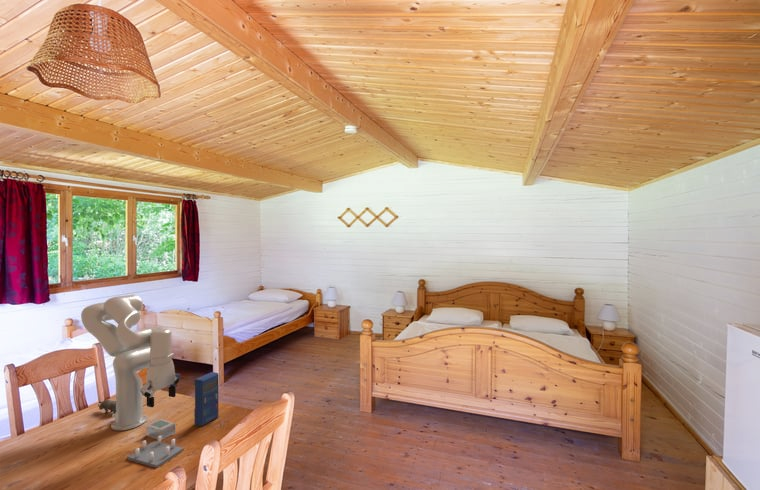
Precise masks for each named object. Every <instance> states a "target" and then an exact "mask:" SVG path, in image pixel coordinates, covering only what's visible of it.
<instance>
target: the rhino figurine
mask: <svg viewBox="0 0 760 490" xmlns="http://www.w3.org/2000/svg"><path fill="white" fill-rule="evenodd" d="M97 406H98V409H99V410H100V411H102V410H104V411H105V412H104V415H107V414H109V411H110V413H111V416H112V415H113V414H116V400H112V399H109V398H108V399H104V400H103V401H98V404H97ZM112 412H113V413H112Z"/></svg>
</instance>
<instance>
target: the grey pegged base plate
mask: <svg viewBox="0 0 760 490" xmlns="http://www.w3.org/2000/svg"><path fill="white" fill-rule="evenodd" d="M170 441H171V442H170V444H168V443H166V442H162V441H161V436H158V440H153V441H152V442H150V443H148V444H147V440H142V441H141V442H142V443H141V444H142V445H141V446H142V447H141V448H140V447H137V448H135V451H134V452H132V453H131V454H128V455H127V456H126V460H128V461H132V462H134V463H138V464H141V465H144V466H148V467H152V468H156V469H157V468H159V467H161V466H163V465H164V464H165V463H167V462H168V461H170V460H172V459H173V458H175V457H176V456H177V455H179V454H181V453H182V452H184V450H185V448H184V447H181V446H177V445H176V438H172V439H171V440H170Z"/></svg>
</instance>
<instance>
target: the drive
mask: <svg viewBox="0 0 760 490" xmlns="http://www.w3.org/2000/svg"><path fill="white" fill-rule="evenodd" d="M175 434H176V422H173V421H169V420H166V419H163V418H159V419H158V420H155V421H153V422H151V423H149V424H147V425H146V436H147V437H149V438H152V439H155V440H156V441H158V436H161V442H162V441H164V440H165V439H168V438H169V437H171V436H173V435H175Z"/></svg>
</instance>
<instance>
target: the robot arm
mask: <svg viewBox="0 0 760 490" xmlns="http://www.w3.org/2000/svg"><path fill="white" fill-rule="evenodd" d="M143 306H144V303H143V299H142V298H141V297H140V296H139V295H135V294H129V295H120V296H113V297H111V298H108V299H107V300H105V302H98V303H94V304H90V305H88V306H86V307H84V308H83V309H82V311H81V314H80V319H81V323H82V325H83V327H84V328H85V330H86V331H87V332H88V333H89V334H91V335H92V336H93V337H94V338H95V339H96V340H97V341H98V342H99V344H100V345H101V347H102V348H103V349H104V351H105V352H106V353H107V354H108V355H109V356H110V357H113V358H114V359H113V361H112V368H113V372H114V378H115V401H116V414H113V413H112V414H113V415H112V414H111V416H112V417H113V418H114V421H113V422H111V429H112V430H113V431H127V430H132V429H135V428H137V427H140V426H141V425H143V424H145V422H146V421H147V419H148V417H147V415H146V414H143V409H144V408H143V407H144V406H143V399H144V397H145V398H146V406H147V407H148V408H154V407H155V397H154V394H155V393H156V392H157V391H160V390H162V389H164V388H166V387H167V388H168V397H169V398H176V396H177V394H176V388H177V387H178V383H179V381H180V378H181V373H177V372H176V371H175V364H174V361H173V358H174V353H172V350H173V349H172V346H173V345H172V344H173V343H172V342H173V341H172V339H173V338H172V330H171V329H168V328H163V327H161V326H150V327H146V328H140V329H136V330H132V328H133V327H135V326H136V325H137V324H138V323H139V322H140V320H141V312H140V311H141V310H142V309H143ZM112 320H114V322H116V323H117V325H114V324H113V323H112V322H111V323H110V322H108V321H112ZM172 357H173V358H172ZM146 369H147V370H146ZM141 370H146V376H145V384H144V385H143V379H142V377H141V376H140V375H139V374H138V372H139V371H141ZM143 396H144V397H143Z"/></svg>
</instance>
